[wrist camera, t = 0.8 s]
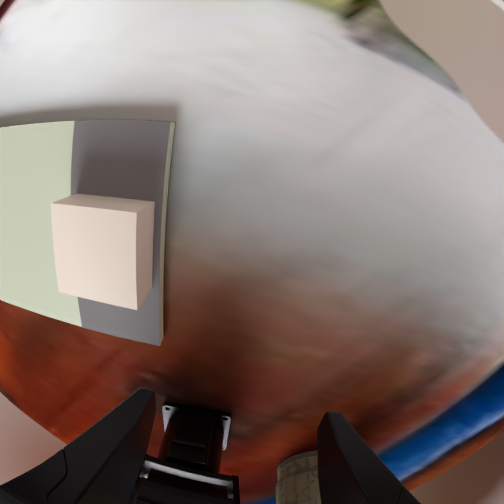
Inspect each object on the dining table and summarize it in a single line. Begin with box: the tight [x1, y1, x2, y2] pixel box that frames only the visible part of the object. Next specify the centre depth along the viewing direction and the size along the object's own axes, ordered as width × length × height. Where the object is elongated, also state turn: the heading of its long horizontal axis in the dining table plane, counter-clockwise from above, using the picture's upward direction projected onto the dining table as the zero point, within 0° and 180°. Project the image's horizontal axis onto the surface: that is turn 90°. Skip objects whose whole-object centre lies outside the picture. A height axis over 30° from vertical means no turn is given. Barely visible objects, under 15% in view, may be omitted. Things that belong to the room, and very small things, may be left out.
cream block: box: [51, 194, 155, 310], centre depth 18 cm, size 6×6×3 cm
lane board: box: [0, 121, 175, 345], centre depth 19 cm, size 16×24×1 cm, turn 82°
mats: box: [71, 120, 171, 346], centre depth 19 cm, size 16×24×1 cm, turn 82°
